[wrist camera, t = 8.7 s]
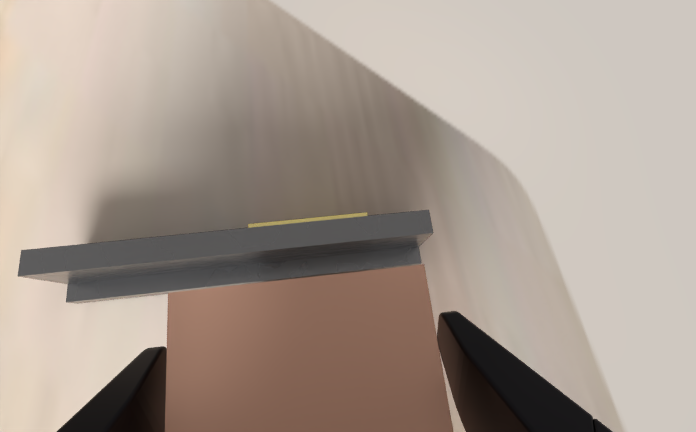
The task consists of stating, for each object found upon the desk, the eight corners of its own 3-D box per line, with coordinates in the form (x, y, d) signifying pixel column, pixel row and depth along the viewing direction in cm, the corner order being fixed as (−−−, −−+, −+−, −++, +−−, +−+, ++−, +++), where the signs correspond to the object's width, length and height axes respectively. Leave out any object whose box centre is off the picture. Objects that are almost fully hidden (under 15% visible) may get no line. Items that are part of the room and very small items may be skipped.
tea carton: (392, 424, 16) (477, 570, 6) (266, 441, 16) (159, 624, 6) (375, 294, 18) (422, 257, 8) (260, 307, 17) (168, 285, 8)
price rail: (417, 265, 18) (436, 252, 15) (78, 303, 17) (14, 298, 13) (410, 225, 19) (427, 203, 15) (82, 258, 17) (22, 242, 14)
